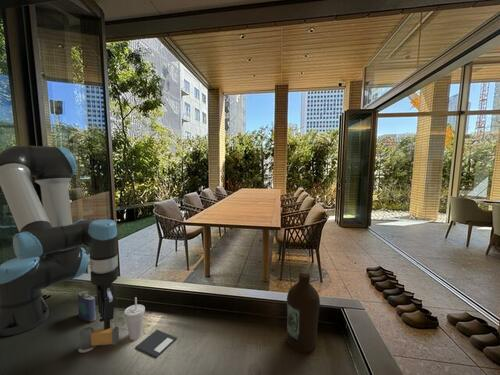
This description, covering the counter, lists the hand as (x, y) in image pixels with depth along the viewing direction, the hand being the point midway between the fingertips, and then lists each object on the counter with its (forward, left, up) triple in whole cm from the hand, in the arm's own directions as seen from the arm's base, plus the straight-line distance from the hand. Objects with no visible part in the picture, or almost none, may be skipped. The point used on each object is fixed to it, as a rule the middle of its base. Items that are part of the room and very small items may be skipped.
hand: (106, 336), depth 82 cm
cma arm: (0, -3, -1) cm, 3 cm away
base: (-3, -5, -2) cm, 6 cm away
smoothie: (+7, +6, -2) cm, 9 cm away
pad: (+16, +6, -2) cm, 17 cm away
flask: (-18, +4, -2) cm, 18 cm away
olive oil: (+58, +28, -2) cm, 65 cm away
